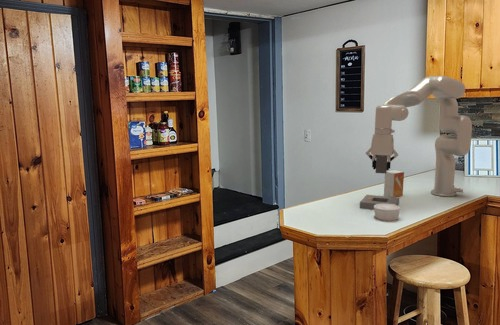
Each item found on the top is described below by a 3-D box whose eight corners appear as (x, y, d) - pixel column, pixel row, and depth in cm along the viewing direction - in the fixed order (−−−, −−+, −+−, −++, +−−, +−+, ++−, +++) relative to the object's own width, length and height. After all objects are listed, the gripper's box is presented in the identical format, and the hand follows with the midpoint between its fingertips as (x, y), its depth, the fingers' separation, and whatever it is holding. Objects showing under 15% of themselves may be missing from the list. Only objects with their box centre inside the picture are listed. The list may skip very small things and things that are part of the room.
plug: (386, 171, 212) (387, 154, 211) (386, 173, 207) (387, 155, 206) (375, 171, 214) (376, 153, 212) (375, 173, 209) (376, 155, 207)
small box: (393, 197, 228) (394, 173, 226) (383, 195, 233) (384, 171, 231) (403, 195, 232) (404, 171, 230) (393, 193, 238) (394, 169, 235)
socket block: (399, 203, 216) (399, 197, 216) (394, 211, 202) (395, 204, 202) (366, 200, 223) (366, 194, 223) (359, 208, 209) (360, 201, 209)
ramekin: (368, 218, 193) (369, 206, 192) (381, 212, 201) (381, 201, 200) (392, 223, 186) (392, 211, 185) (404, 217, 193) (404, 206, 192)
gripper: (402, 131, 206) (400, 169, 209) (366, 130, 214) (364, 166, 217) (400, 133, 200) (398, 172, 203) (362, 131, 207) (361, 169, 210)
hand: (381, 169), depth 210 cm, fingers closed on plug, 5 cm apart
